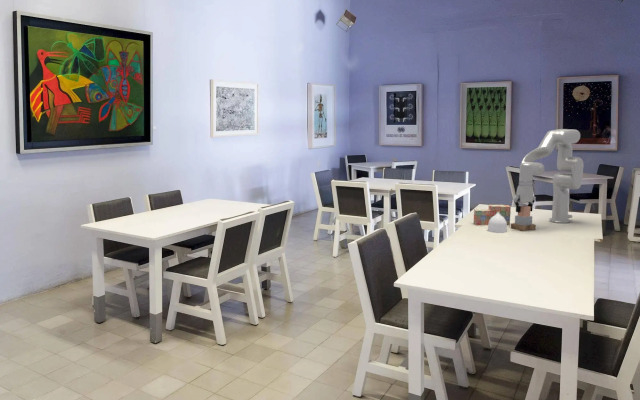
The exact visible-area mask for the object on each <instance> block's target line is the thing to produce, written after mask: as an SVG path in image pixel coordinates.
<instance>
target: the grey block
mask: <svg viewBox="0 0 640 400" xmlns="http://www.w3.org/2000/svg"><path fill="white" fill-rule="evenodd" d="M514 223H515V224H518V225H523V226H525V225H532V224H533V216H532V215H530V216H528V217H522V216H518V214H517V215H515V216H514Z"/></svg>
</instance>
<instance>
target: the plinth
mask: <svg viewBox="0 0 640 400" xmlns="http://www.w3.org/2000/svg"><path fill="white" fill-rule="evenodd" d="M536 227H537V224H534V223H532V225H525V226H523V225H518V224H515V222H513V223H512V222H510V229H513V230H517V231H521V232H529V231H536Z"/></svg>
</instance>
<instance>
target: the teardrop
mask: <svg viewBox="0 0 640 400" xmlns="http://www.w3.org/2000/svg"><path fill="white" fill-rule="evenodd" d="M487 231H488V232H490V233H495V234H497V233H498V234H500V233H501V234H503V233H507V232H508V225H507V222H506V220H505V219H504V217H502V216H501V215H500V214H499V212H498V213H497V214H496V215H495V216H493V217H492V218H491V219H490V220H489V223H488V225H487Z"/></svg>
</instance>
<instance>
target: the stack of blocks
mask: <svg viewBox="0 0 640 400" xmlns="http://www.w3.org/2000/svg"><path fill="white" fill-rule="evenodd" d="M511 208H512V206H510V205H508V204H507V205H505V204H488V209H487V208H486V209H485V208H484V209H483V208H480V209H478V208H477V209H476V208H474V210H473V224H474V225H476V226H488V223H489V220H490V219H491V218H492V217H493V216H495V215H496V214H497V213H498V212H499V214H500V215H501V216H502V217H504V219H505V220H506V222H507V226H511V211H512V210H511Z"/></svg>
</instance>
